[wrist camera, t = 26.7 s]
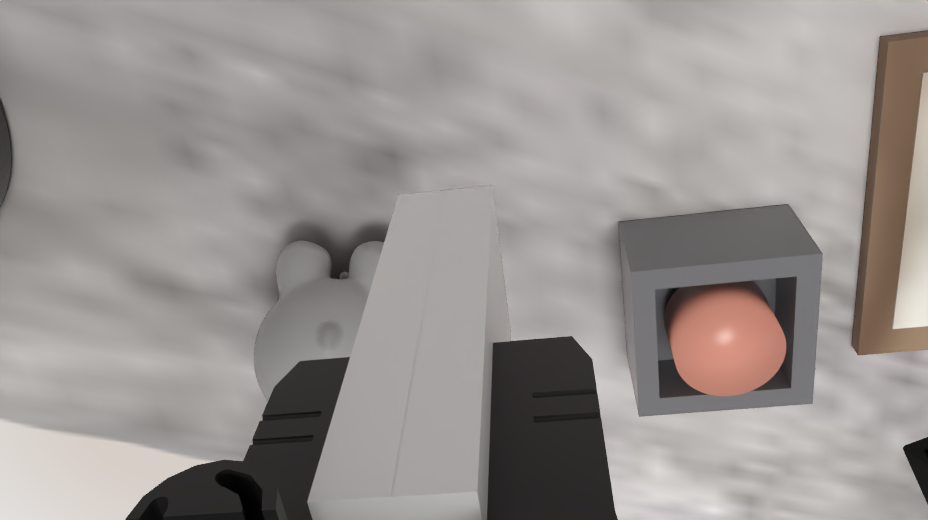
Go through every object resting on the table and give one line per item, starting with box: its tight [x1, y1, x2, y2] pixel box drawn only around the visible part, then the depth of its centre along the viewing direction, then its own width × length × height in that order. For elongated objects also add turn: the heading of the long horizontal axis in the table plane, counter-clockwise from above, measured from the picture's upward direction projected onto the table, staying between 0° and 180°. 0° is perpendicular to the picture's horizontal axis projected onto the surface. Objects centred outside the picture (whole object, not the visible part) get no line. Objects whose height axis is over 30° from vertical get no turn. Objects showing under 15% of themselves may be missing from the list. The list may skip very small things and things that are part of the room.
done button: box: [664, 281, 786, 396], centre depth 37 cm, size 5×5×3 cm
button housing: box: [619, 204, 823, 417], centre depth 39 cm, size 8×8×5 cm
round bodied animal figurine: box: [254, 241, 384, 401], centre depth 40 cm, size 7×12×8 cm, turn 178°
